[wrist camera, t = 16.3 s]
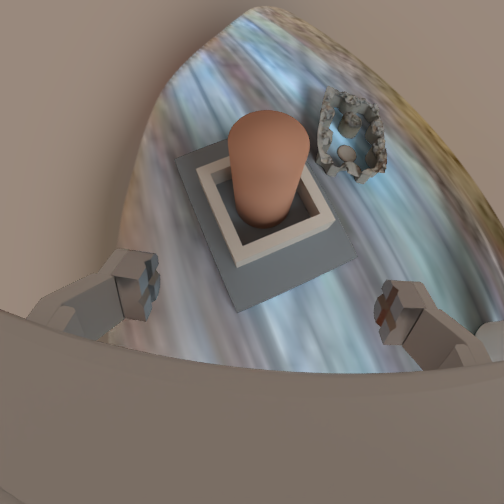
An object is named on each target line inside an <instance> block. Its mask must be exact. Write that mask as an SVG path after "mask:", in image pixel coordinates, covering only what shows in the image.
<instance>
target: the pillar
mask: <svg viewBox="0 0 504 504" xmlns="http://www.w3.org/2000/svg"><path fill="white" fill-rule="evenodd" d="M228 149H229V157H230V165H231V173H232V181H233V189H234V197H235V205H236V210H237V213H238V215H239V216H240V218H241V219H242V220H243V221H244V222H245V223H247V224H248V225H250V226H252V227H255V228H260V229H267V228H272V227H274V226H277V225H278V224H280V223H281V222H282V221H283V220H284V219H285V218H286V217H287V215H288V213H289V210H290V207H291V204H292V201H293V198H294V195H295V192H296V189H297V186H298V183H299V180H300V177H301V174H302V171H303V168H304V165H305V162H306V159H307V156H308V153H309V149H310V141H309V137H308V134H307V132H306V130H305V128H304V127H303V126H302V125H301V124H300V123H299V122H298V121H297V120H296V119H294V118H293V117H291V116H289V115H287V114H285V113H282V112H278V111H272V110H262V111H256V112H252V113H249V114H247V115H245V116H243V117H242V118H240V119H239V120H238V121H237V122H236V123H235V124H234V125H233V127H232V128H231V130H230V132H229V136H228Z"/></svg>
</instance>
